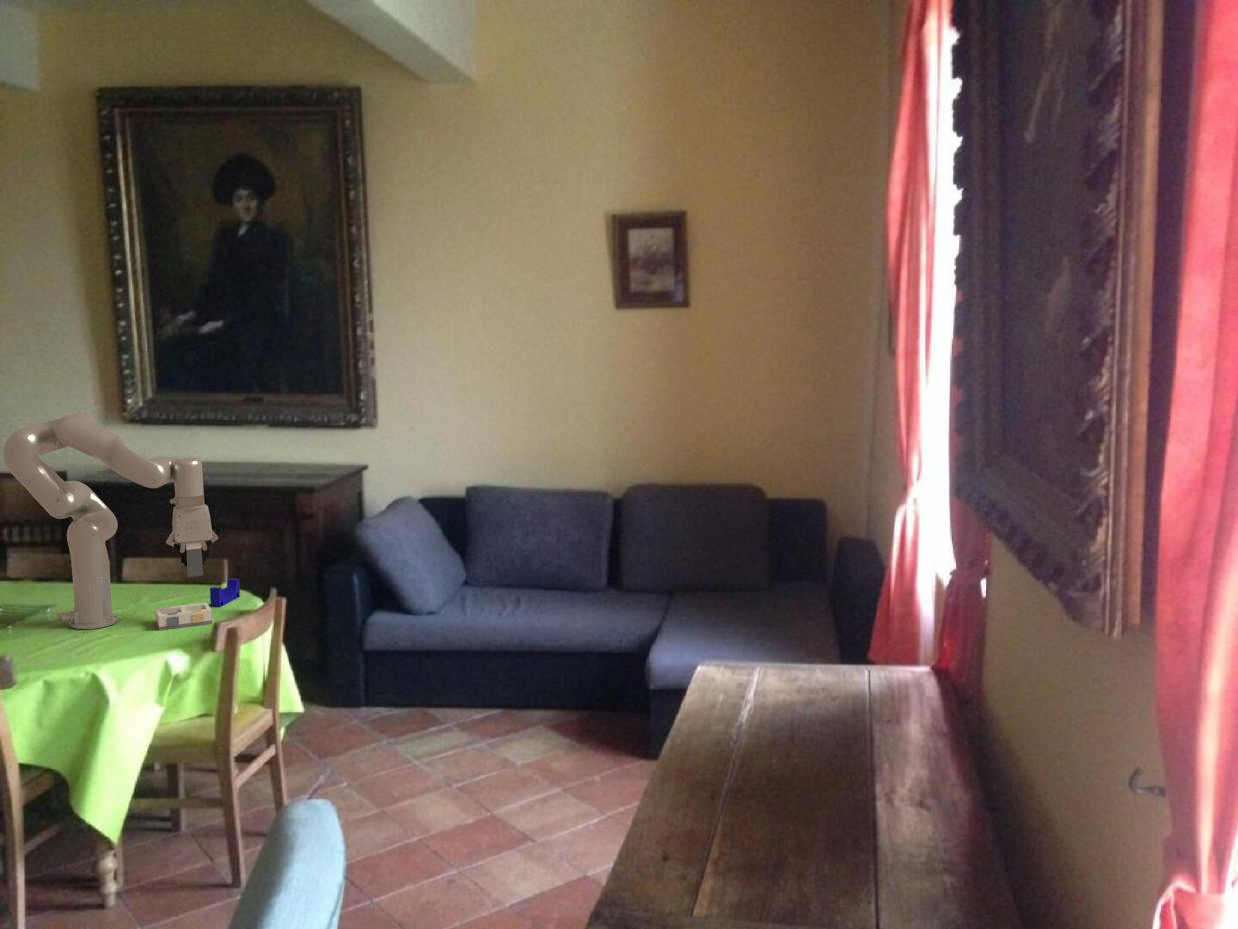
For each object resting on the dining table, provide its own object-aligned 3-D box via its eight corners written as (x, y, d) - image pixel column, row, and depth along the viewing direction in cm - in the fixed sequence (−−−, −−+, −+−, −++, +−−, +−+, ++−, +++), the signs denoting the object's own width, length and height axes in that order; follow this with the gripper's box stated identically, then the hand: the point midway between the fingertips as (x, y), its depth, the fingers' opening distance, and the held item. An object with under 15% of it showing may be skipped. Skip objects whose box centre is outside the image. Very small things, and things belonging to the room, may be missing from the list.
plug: (188, 577, 302) (186, 543, 300) (186, 574, 305) (184, 540, 304) (203, 575, 304) (201, 541, 302) (200, 572, 307) (198, 538, 306)
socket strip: (159, 630, 297) (158, 616, 297) (155, 622, 305) (154, 607, 305) (212, 623, 304) (211, 609, 304) (207, 615, 312) (206, 601, 312)
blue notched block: (226, 596, 333) (225, 578, 332) (239, 597, 332) (239, 578, 332) (206, 607, 321) (205, 588, 321) (219, 608, 321) (219, 588, 320)
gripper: (159, 506, 294) (164, 570, 297) (223, 501, 302) (226, 563, 305) (156, 502, 301) (160, 565, 303) (218, 496, 309) (222, 558, 311)
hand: (194, 563), depth 304 cm, fingers closed on plug, 4 cm apart
